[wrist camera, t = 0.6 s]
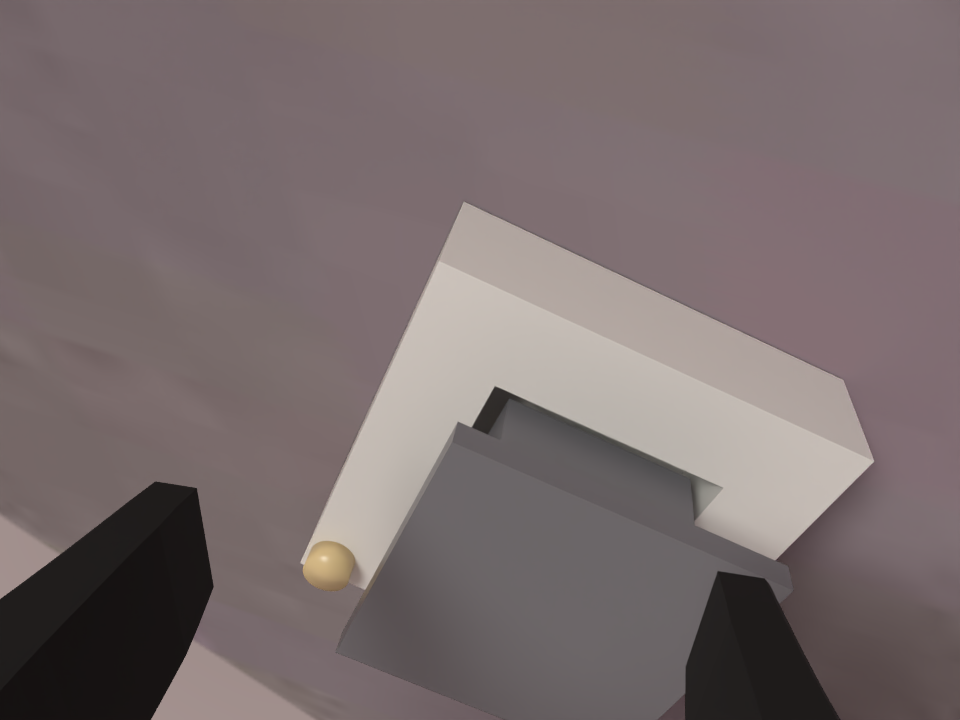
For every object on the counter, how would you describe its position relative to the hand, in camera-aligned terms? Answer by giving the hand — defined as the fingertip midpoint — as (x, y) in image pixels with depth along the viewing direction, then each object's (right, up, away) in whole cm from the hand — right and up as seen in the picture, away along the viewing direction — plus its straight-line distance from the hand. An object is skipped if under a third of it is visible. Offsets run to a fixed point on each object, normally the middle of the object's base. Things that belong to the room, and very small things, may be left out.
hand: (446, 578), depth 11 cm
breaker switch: (+2, 0, +8) cm, 9 cm away
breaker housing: (+3, +1, +10) cm, 11 cm away
